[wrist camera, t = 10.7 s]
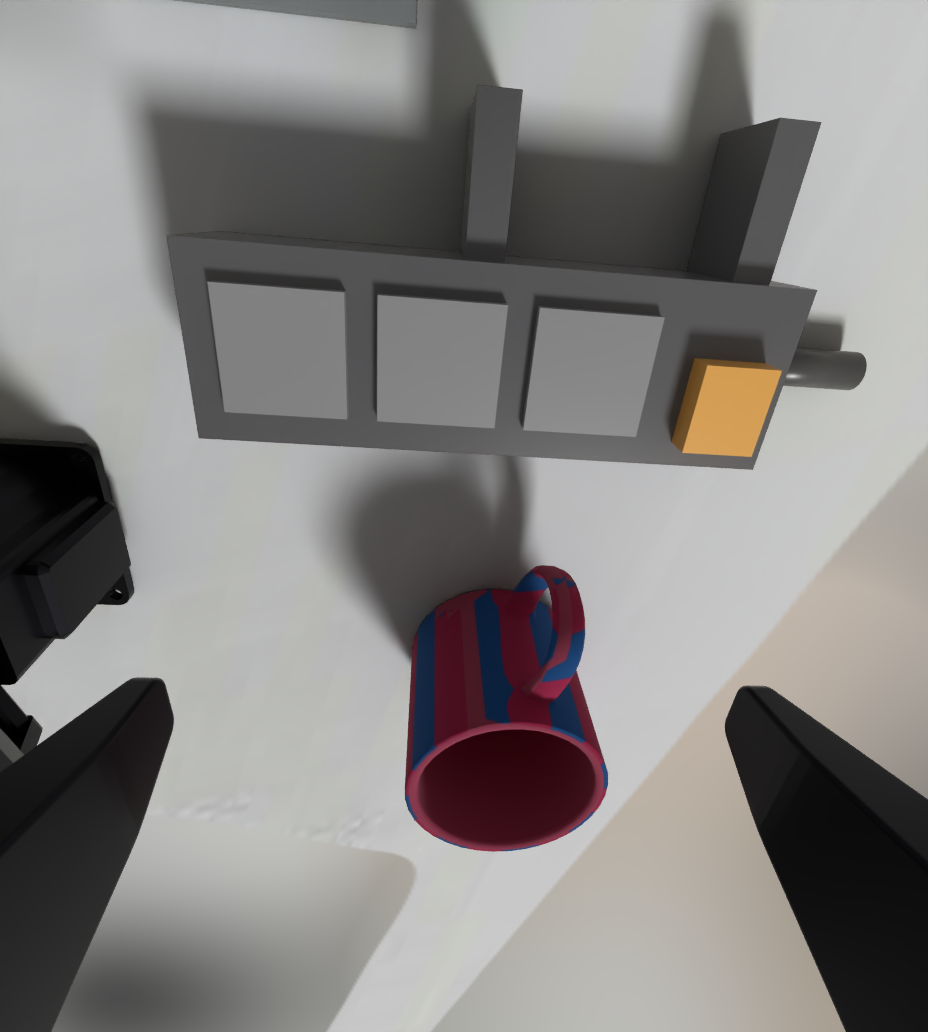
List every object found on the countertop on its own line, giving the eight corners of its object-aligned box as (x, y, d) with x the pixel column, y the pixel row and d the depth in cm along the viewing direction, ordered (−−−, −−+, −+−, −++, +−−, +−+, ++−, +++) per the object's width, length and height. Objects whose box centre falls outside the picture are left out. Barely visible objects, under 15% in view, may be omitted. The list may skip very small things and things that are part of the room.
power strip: (238, 400, 18) (187, 449, 15) (200, 79, 14) (115, 31, 10) (810, 435, 20) (897, 488, 16) (922, 155, 16) (1074, 137, 12)
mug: (390, 681, 25) (376, 830, 19) (483, 497, 21) (503, 614, 15) (523, 719, 26) (548, 867, 20) (635, 555, 22) (709, 681, 16)
